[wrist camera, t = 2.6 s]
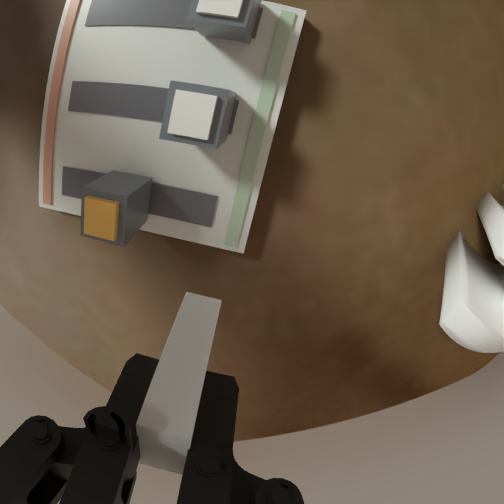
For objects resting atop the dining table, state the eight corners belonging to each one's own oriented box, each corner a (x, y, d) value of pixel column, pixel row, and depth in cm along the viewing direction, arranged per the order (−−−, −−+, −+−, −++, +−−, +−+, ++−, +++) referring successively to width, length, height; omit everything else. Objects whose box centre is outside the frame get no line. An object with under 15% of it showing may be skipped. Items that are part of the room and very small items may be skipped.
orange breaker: (109, 211, 25) (77, 238, 20) (112, 170, 23) (78, 189, 18) (147, 220, 25) (120, 249, 20) (152, 177, 23) (124, 198, 19)
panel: (49, 200, 27) (2, 229, 20) (78, -1, 18) (30, -19, 11) (244, 244, 28) (238, 290, 21) (303, 16, 19) (317, -15, 13)
